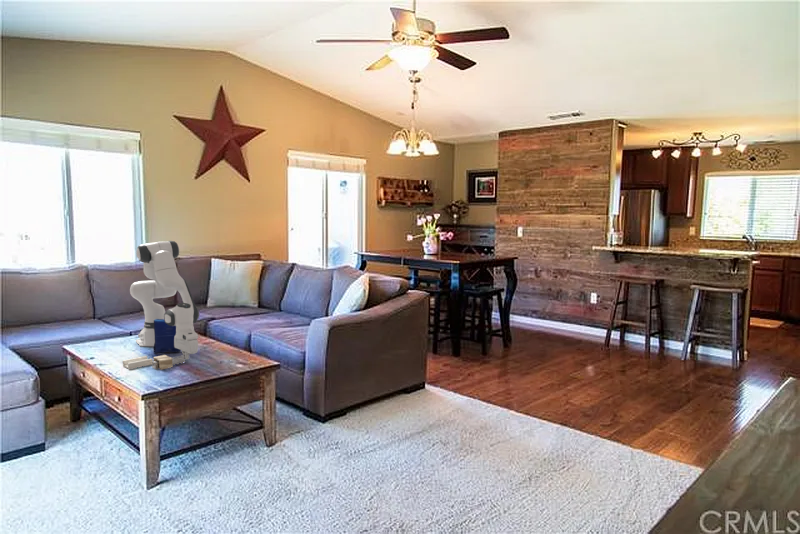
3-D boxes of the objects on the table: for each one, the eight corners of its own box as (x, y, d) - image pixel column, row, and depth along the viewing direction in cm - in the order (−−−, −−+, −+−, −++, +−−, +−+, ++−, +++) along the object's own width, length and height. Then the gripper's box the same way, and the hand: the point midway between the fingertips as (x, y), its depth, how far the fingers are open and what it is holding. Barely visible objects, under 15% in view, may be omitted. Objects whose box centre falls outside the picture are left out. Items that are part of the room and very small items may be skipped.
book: (153, 355, 295) (151, 320, 293) (154, 352, 300) (153, 318, 298) (180, 353, 299) (179, 319, 296) (181, 351, 304) (180, 317, 301)
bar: (152, 368, 271) (152, 361, 271) (181, 361, 284) (181, 355, 283) (155, 369, 269) (155, 362, 269) (185, 362, 282) (184, 356, 281)
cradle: (122, 366, 274) (122, 360, 274) (146, 361, 283) (146, 355, 283) (128, 369, 269) (128, 363, 268) (152, 364, 278) (152, 358, 277)
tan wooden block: (153, 366, 274) (153, 357, 274) (165, 363, 279) (164, 354, 278) (160, 369, 269) (160, 360, 268) (172, 367, 273) (172, 358, 272)
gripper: (170, 331, 285) (171, 356, 287) (188, 337, 272) (189, 363, 273) (181, 329, 290) (182, 354, 292) (199, 335, 277) (200, 361, 278)
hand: (186, 358), depth 282 cm, fingers closed
